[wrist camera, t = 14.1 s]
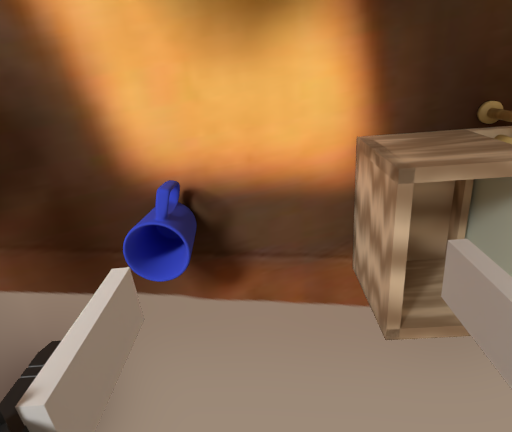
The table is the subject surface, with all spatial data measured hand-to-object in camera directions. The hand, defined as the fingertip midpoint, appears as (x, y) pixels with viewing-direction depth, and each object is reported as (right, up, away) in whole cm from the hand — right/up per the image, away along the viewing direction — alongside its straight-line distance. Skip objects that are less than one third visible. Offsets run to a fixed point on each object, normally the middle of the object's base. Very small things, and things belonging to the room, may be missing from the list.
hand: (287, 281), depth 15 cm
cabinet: (+23, +6, +36) cm, 43 cm away
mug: (-13, +4, +38) cm, 40 cm away
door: (+29, +4, +35) cm, 46 cm away
